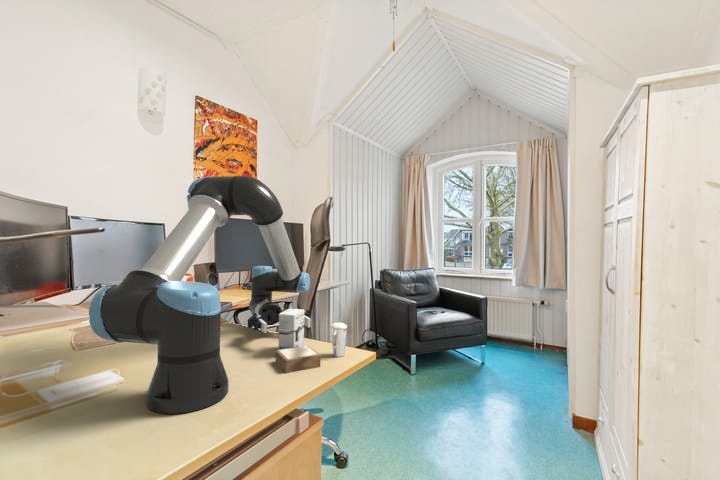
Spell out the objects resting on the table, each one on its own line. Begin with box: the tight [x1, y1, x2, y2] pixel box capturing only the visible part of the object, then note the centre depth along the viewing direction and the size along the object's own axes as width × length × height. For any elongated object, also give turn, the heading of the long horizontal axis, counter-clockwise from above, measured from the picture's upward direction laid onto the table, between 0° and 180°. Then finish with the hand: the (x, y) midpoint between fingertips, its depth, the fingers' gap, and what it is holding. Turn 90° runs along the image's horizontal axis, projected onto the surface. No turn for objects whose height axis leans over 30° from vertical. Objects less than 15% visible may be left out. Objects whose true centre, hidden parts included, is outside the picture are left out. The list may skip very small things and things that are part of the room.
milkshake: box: [330, 322, 349, 358], centre depth 98 cm, size 4×5×10 cm
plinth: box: [275, 345, 321, 374], centre depth 91 cm, size 9×9×3 cm
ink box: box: [278, 308, 306, 350], centre depth 101 cm, size 8×5×12 cm, turn 168°
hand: (288, 325), depth 104 cm, fingers open, 13 cm apart
